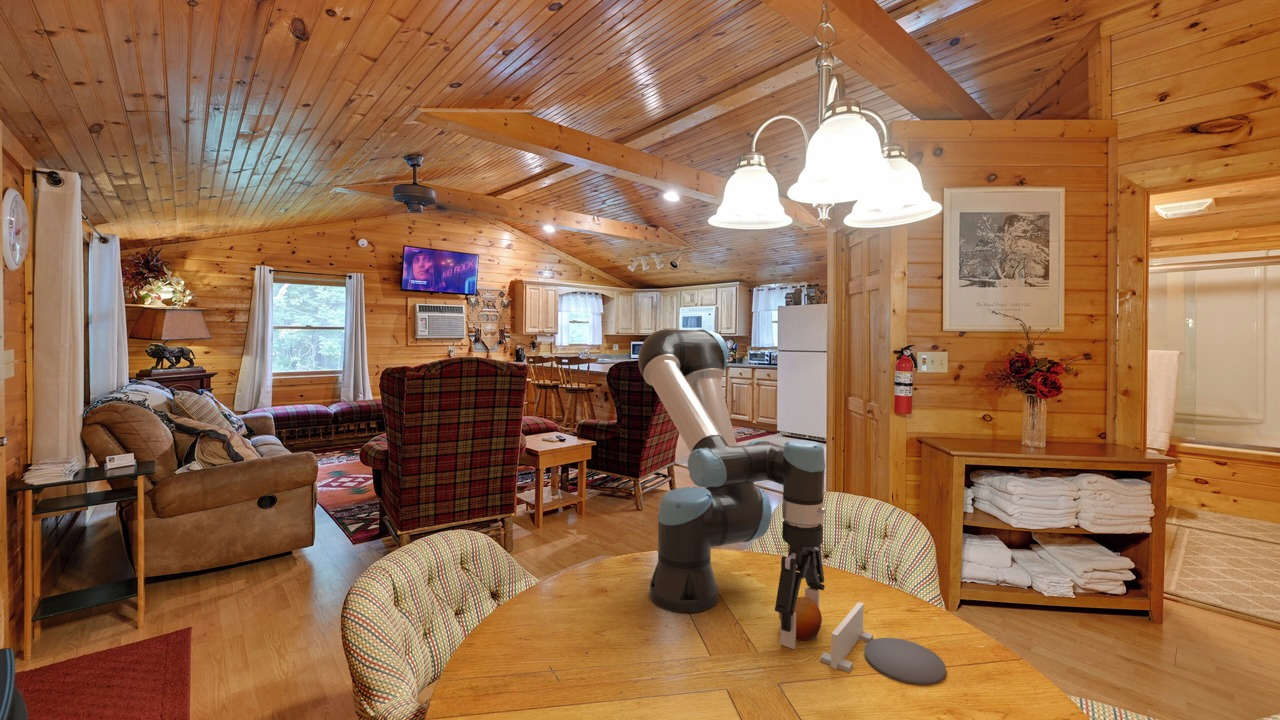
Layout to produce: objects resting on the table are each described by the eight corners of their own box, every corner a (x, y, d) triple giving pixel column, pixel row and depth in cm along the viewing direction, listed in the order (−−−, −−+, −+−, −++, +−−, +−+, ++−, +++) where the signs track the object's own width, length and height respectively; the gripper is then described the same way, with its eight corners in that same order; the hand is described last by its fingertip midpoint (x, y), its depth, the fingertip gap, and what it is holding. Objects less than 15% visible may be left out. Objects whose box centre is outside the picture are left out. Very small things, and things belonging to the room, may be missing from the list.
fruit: (834, 641, 100) (812, 602, 100) (796, 658, 101) (774, 620, 102) (828, 619, 108) (807, 583, 108) (793, 635, 109) (772, 600, 110)
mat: (854, 664, 95) (854, 660, 95) (875, 634, 105) (875, 630, 105) (937, 695, 87) (937, 690, 87) (951, 659, 97) (951, 655, 97)
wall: (819, 662, 96) (820, 629, 95) (847, 628, 107) (848, 598, 107) (848, 673, 92) (849, 639, 92) (873, 637, 104) (874, 606, 104)
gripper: (796, 543, 93) (794, 668, 93) (842, 511, 111) (840, 616, 112) (757, 533, 98) (754, 652, 98) (807, 504, 116) (804, 604, 116)
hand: (800, 633), depth 105 cm, fingers open, 11 cm apart
